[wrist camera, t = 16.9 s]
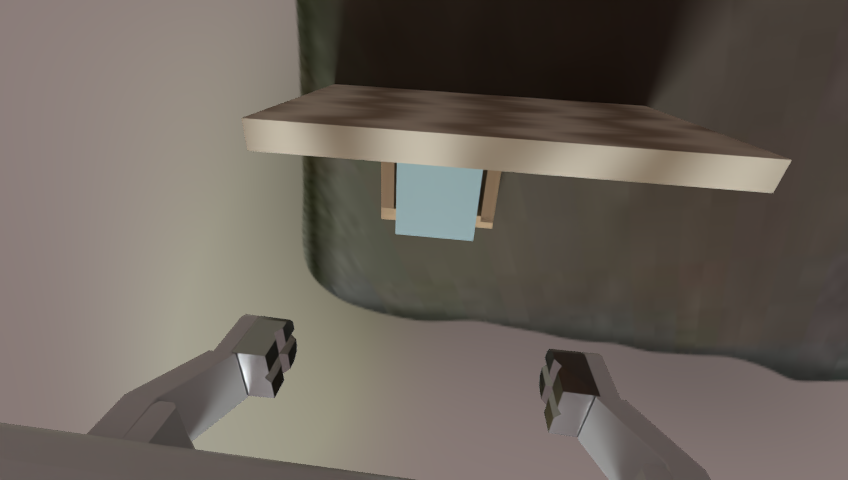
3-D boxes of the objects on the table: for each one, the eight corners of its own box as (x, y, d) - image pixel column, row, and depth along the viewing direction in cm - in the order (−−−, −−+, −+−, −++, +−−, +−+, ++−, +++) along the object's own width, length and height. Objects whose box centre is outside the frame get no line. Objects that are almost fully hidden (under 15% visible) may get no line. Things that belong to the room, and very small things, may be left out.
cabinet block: (476, 127, 29) (483, 164, 21) (468, 194, 32) (471, 251, 24) (415, 122, 30) (396, 158, 21) (412, 189, 32) (395, 244, 24)
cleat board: (645, 105, 28) (791, 159, 15) (607, 218, 32) (696, 328, 20) (334, 83, 29) (241, 118, 17) (341, 195, 33) (272, 286, 21)
